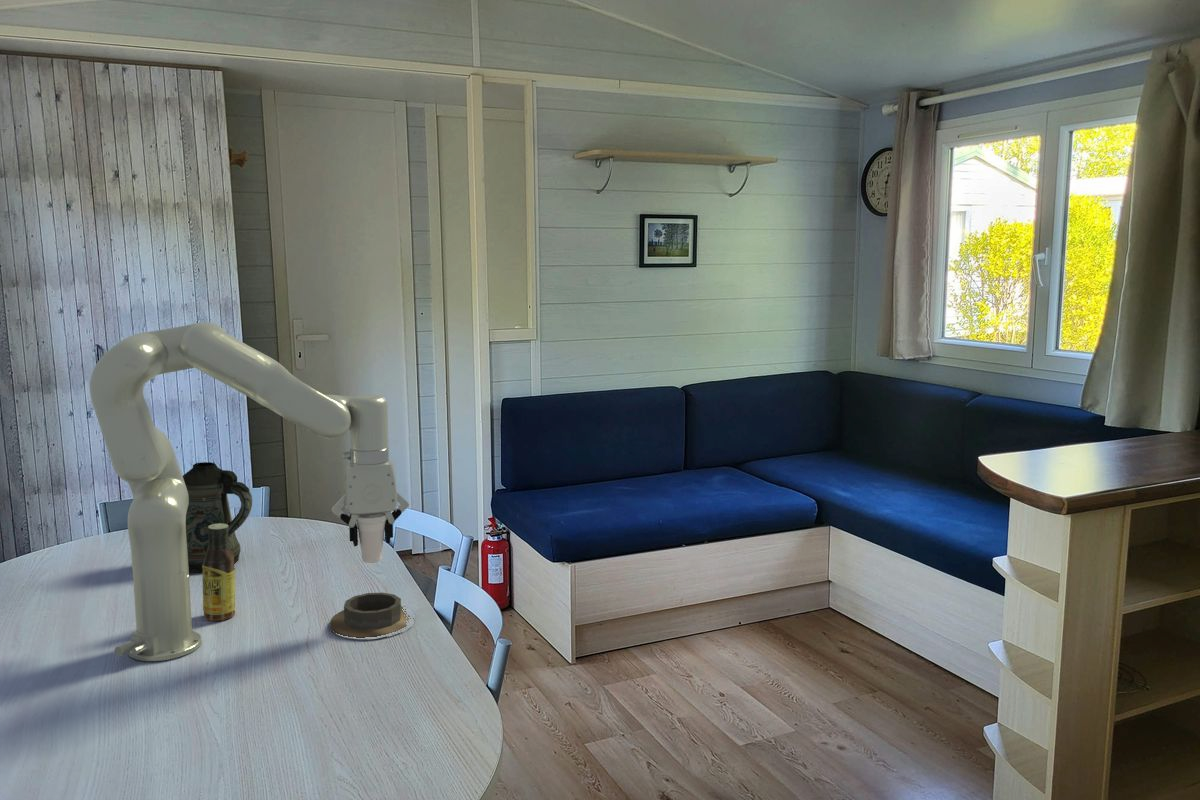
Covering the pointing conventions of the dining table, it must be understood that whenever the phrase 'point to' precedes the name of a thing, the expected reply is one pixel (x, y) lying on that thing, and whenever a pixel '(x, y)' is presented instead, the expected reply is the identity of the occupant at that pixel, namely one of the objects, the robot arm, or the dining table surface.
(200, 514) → the beer stein
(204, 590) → the sauce bottle
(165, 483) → the robot arm
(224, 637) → the dining table surface
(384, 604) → the holder
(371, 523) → the smoothie
